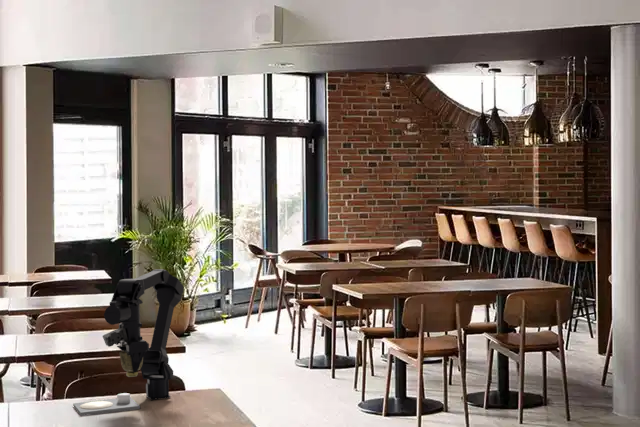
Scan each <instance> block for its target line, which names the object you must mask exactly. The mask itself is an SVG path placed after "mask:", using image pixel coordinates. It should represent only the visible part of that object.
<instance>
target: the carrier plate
mask: <svg viewBox="0 0 640 427" xmlns="http://www.w3.org/2000/svg"><path fill="white" fill-rule="evenodd" d="M72 405H73V406H74V407H75V408H74V407H73V406H72V407H73V408H74V409H75V410H77V411H78V412H77V411H76V412H77V413H78V414H79V416H80V415H81V416H80V417H84V416H90V415H91V416H92V415H98V414H99V415H100V413H101V414H109V413H108V412H110V413H116V412H125V411H127V412H128V411H132V410H133V411H134V410H135V411H136V410H140V409H141V406H140V404H139V403H137V402H136V401H135V400H134V399H133V398H132V397H131V393H127V392H123V393H118V394H117V395H116V398H110V399H109V398H107V399H101V400H92V401H91V400H90V401H83V402H82V401H81V402H73V403H72Z"/></svg>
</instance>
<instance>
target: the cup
mask: <svg viewBox="0 0 640 427" xmlns="http://www.w3.org/2000/svg"><path fill="white" fill-rule="evenodd" d="M126 351H127V349H126V350H125V352H124V350H123V351H122V350H120V351H119V359H120V364H121V368H122V369H123V371H124V372H126V374H125V375H126V377H128V378H134V377H138V375H139V371H141V367H142V365H143V359H142V361H141V363H140V366H139V368H138V371H137V372H133V369H132V363H131V358H130V355H129V354H128V353H127V352H126Z"/></svg>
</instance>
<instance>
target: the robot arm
mask: <svg viewBox="0 0 640 427" xmlns="http://www.w3.org/2000/svg"><path fill="white" fill-rule="evenodd" d="M150 288H152V289H153V290H154V291H155V292H156V293H155V297H156V300H157V303H158V310H157V315H156V318H155V322H154V329H153V333H152V338H151V343H149V342H147V341H146V340H145V339H143V336H142V334H141V328H142V327H143V323H142V322H141V314H140V313H141V311H140V310H141V309H140V308H141V307H140V305H142V304H143V303H144V301H143V300H142V299H140V298H141V297H142V296H143V295H145V291H146V290H148V289H150ZM184 291H185V288H184V285H183V283H182V282H181V281H180V280H179V278H178V277H176V276H174V275H173V274H171V273H170V272H169V271H168V270H167V269H152V270H151V271H150V272H147V273H144V274H142V275H140V276H138V277H136V278H124V279H119V281H118V282H117V284H116V287H115V290H114V293H113V295H112V298H111V300H110V302H109V306H108V307H106V309H105V310H104V312H103V316H104V320H105V322H106V323H107V324H108V325H112V326H113V325H118V328H117V329H113V330H112V331H109V332H107V333H106V334H103V335H102V338H103V341H104V344H105V346H106V347H108V348H109V347H112V346H114V345H115V346H116V347H117V348H118V349H119V350H120V351H121V352H122V351H123V350H124V352H125V350H126V349H127V351H126V352H127V353H128V354H129V355H130V358H131V363H132V369H133V372H137V371H138V368H139V366H140V363H141V361H142V359H143V365H142V367H141V369H140V372H141V375H142V379H143V380H147V382H146V383H145V394H146V397H147V398H148V399H149V400H151V401H154V400H155V401H156V400H162V399H171V395H170V384H169V382H170V381H169V380H172V379H173V378H174V370H173V368H172V366H170V364H169V360H170V359H169V356H168V353H167V350H166V349H167V345H168V344H167V343H168V339H169V334H170V329H171V323H172V320H173V315H174V309H175V307H176V306H177V305H178V304H179V303H180V302H181V299H182V296H183V293H184ZM138 372H139V371H138Z"/></svg>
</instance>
